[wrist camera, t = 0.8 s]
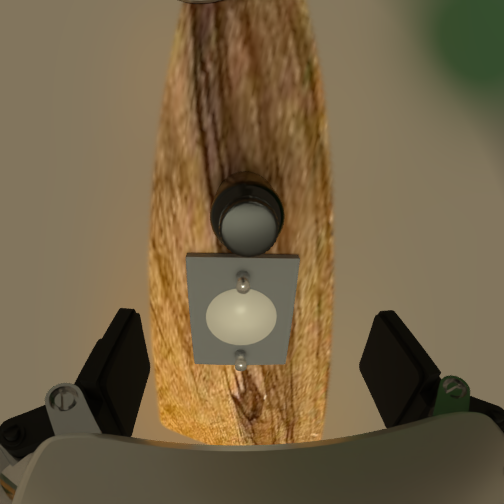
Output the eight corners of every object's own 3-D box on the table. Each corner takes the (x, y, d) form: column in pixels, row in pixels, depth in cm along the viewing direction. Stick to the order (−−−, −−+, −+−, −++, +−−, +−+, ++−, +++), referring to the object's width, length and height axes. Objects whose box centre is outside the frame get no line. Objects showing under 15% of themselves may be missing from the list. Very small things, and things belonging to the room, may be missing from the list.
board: (187, 253, 36) (181, 267, 32) (297, 254, 37) (305, 269, 33) (195, 358, 43) (192, 377, 39) (284, 358, 44) (288, 377, 40)
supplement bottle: (285, 202, 34) (309, 236, 23) (241, 237, 36) (244, 285, 25) (248, 158, 32) (255, 169, 21) (203, 196, 33) (187, 227, 22)
